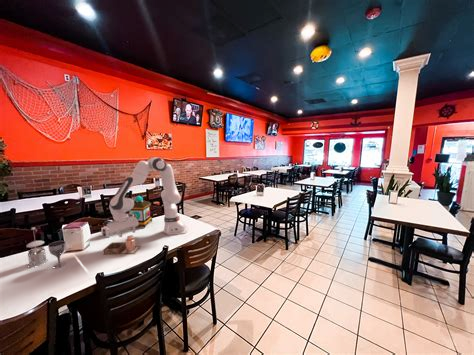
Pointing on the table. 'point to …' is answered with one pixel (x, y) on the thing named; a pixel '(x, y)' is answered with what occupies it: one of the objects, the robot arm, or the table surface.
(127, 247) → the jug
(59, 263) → the wine glass
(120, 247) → the caddy
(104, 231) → the container
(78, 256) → the table surface
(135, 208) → the decorative lantern
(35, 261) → the french press
